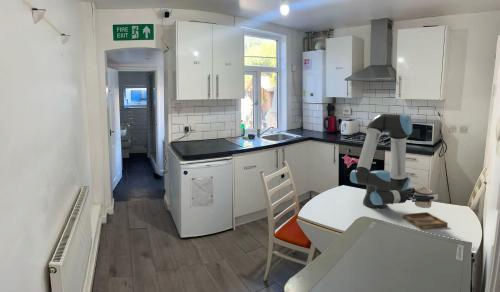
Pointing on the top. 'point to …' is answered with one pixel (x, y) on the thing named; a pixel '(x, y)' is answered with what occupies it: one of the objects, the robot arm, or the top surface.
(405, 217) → the tray
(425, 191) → the teacup with lid
